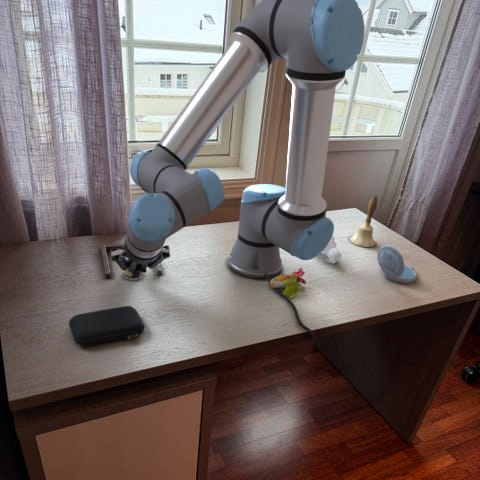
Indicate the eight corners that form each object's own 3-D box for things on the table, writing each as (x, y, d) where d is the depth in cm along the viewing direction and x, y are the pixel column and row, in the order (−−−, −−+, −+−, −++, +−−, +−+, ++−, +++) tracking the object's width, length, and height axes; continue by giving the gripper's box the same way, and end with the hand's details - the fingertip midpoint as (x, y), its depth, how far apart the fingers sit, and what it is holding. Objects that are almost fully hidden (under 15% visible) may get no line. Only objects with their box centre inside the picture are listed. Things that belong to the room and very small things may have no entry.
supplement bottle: (136, 282, 114) (135, 253, 109) (120, 277, 115) (118, 248, 110) (145, 274, 118) (145, 245, 113) (130, 269, 119) (129, 241, 114)
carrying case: (77, 354, 90) (148, 339, 96) (76, 342, 88) (148, 328, 94) (68, 324, 97) (134, 312, 103) (66, 313, 95) (134, 301, 101)
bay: (161, 275, 118) (161, 270, 117) (105, 278, 114) (105, 273, 113) (152, 247, 130) (152, 242, 130) (100, 249, 126) (100, 244, 125)
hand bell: (346, 241, 149) (358, 195, 140) (355, 234, 155) (368, 189, 146) (369, 249, 146) (383, 203, 136) (378, 242, 152) (392, 197, 142)
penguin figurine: (327, 222, 138) (352, 242, 130) (320, 246, 143) (343, 266, 136) (311, 224, 135) (335, 245, 127) (304, 248, 140) (327, 269, 133)
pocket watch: (378, 239, 126) (412, 232, 133) (368, 273, 132) (401, 264, 140) (406, 255, 119) (440, 246, 127) (393, 289, 126) (427, 279, 133)
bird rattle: (264, 278, 114) (300, 276, 111) (273, 261, 123) (305, 259, 120) (268, 299, 117) (302, 298, 114) (275, 282, 126) (307, 280, 123)
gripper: (113, 261, 87) (109, 289, 109) (178, 257, 91) (162, 285, 113) (108, 224, 88) (106, 259, 110) (174, 222, 92) (158, 256, 114)
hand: (134, 272), depth 112 cm, fingers closed
